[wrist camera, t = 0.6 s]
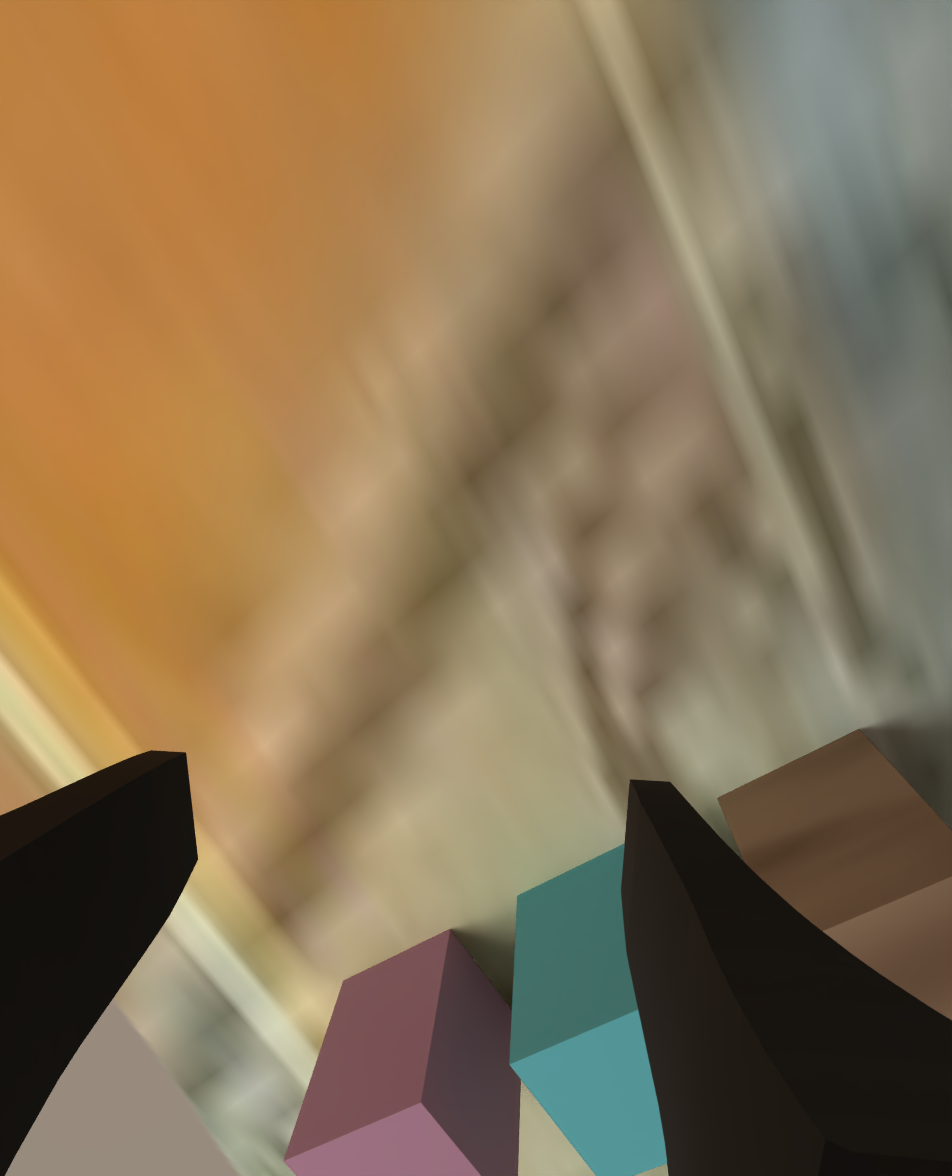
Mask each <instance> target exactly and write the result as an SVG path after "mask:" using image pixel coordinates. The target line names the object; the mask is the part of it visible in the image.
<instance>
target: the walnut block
mask: <svg viewBox="0 0 952 1176" xmlns="http://www.w3.org/2000/svg"><path fill="white" fill-rule="evenodd" d="M717 799H718V801H719V804H720V806H721V808H722V811H723V813H724V816H725V818H726V820H727V823H728V825H729V828H730V830H731V832H732V835H733V837H734V839H735V842H736V844H737V847H738V849H739V851H740V854H741V856H742V858H743V861H744V862H745V863H746V864H747V865H748V866H749V867H750V868H751V869H752V870H753V871H754V872H755V873H756V874H757V875H758V876H759V877H760V878H761V879H762V880H763V881H765V882H766V883H767V884H768V885H769V886H770V887H771V888H772V889H773V890H774V891H776V892H777V893H778V894H779V895H780V896H781V897H782V898H783V899H784V900H786V901H787V902H788V903H789V904H790V905H791V906H792V907H793V908H795V909H796V910H797V911H798V912H799V913H801V914H802V915H803V916H804V917H805V918H807V919H808V920H809V921H810V922H811V923H813V924H814V925H815V926H817V927H818V928H819V929H820V930H822V931H823V932H824V933H826V934H827V935H828V936H829V937H831V938H832V939H833V940H835V941H836V942H837V943H838V944H840V945H841V946H842V947H844V948H845V949H846V950H848V951H849V952H850V953H851V954H853V955H854V956H855V957H857V958H858V959H860V960H861V961H863V962H864V963H865V964H867V965H868V966H870V967H871V968H872V969H874V970H875V971H877V972H878V973H879V974H881V975H882V976H884V977H885V978H887V979H888V980H890V981H891V982H893V983H895V984H896V985H898V986H899V987H901V988H902V989H904V990H905V991H907V992H908V993H910V994H911V995H913V996H914V997H916V998H917V999H919V1000H920V1001H922V1002H923V1003H925V1004H926V1005H928V1006H929V1007H931V1008H933V1009H934V1010H936V1011H937V1012H939V1013H941V1014H942V1015H944V1016H946V1017H947V1018H949V1019H951V1020H952V830H951V829H950V828H949V827H948V826H947V825H946V824H945V823H944V822H943V821H942V819H941V818H940V817H939V816H938V815H937V814H936V813H935V812H934V811H933V810H932V809H931V807H930V806H929V805H928V804H927V803H926V802H925V801H924V800H923V799H922V798H921V796H920V795H919V794H918V793H917V792H916V791H915V790H914V789H913V788H912V787H911V785H910V784H909V783H908V782H907V781H906V780H905V779H904V778H903V777H902V776H901V775H900V773H899V772H898V771H897V770H896V769H895V768H894V767H893V766H892V765H891V764H890V762H889V761H888V760H887V759H886V758H885V757H884V756H883V755H882V754H881V753H880V752H879V750H878V749H877V748H876V747H875V746H874V745H873V744H872V743H871V742H870V741H869V739H868V738H867V737H866V736H865V735H864V734H863V733H862V732H861V731H860V730H859V729H858V730H856V731H854V732H852V733H850V734H848V735H846V736H844V737H842V738H840V739H837V740H835V741H833V742H831V743H829V744H827V745H825V746H823V747H821V748H819V749H817V750H815V751H813V752H811V753H809V754H807V755H805V756H803V757H801V758H798V759H796V760H794V761H792V762H790V763H788V764H786V765H784V766H782V767H780V768H778V769H776V770H774V771H772V772H770V773H768V774H766V775H764V776H762V777H759V778H757V779H755V780H753V781H751V782H749V783H747V784H745V785H743V786H741V787H739V788H737V789H735V790H733V791H731V792H729V793H727V794H725V795H723V796H720V797H718V798H717Z"/></svg>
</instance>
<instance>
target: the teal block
mask: <svg viewBox="0 0 952 1176" xmlns="http://www.w3.org/2000/svg"><path fill="white" fill-rule="evenodd" d="M624 846H625V844H623V845H621V846H619V847H617V848H615V849H612V850H610V851H608V852H606V853H604V854H602V855H600V856H598V857H596V858H594V859H592V860H590V861H588V862H586V863H584V864H582V865H580V866H578V867H576V868H573V869H571V870H569V871H567V872H565V873H563V874H561V875H559V876H557V877H555V878H553V879H551V880H549V881H547V882H545V883H543V884H541V885H539V886H537V887H534V888H532V889H530V890H528V891H526V892H524V893H522V894H520V895H518V896H517V912H516V933H515V955H514V976H513V998H512V1019H511V1040H510V1062H509V1065H510V1066H511V1067H512V1069H513V1070H514V1071H515V1072H516V1074H517V1075H518V1076H519V1078H520V1079H521V1080H522V1081H523V1083H524V1084H525V1085H526V1087H527V1088H528V1089H529V1090H530V1092H531V1093H532V1094H533V1096H534V1097H535V1098H536V1099H537V1101H538V1102H539V1103H540V1105H541V1106H542V1107H543V1108H544V1110H545V1111H546V1112H547V1114H548V1115H549V1116H550V1117H551V1119H552V1120H553V1121H554V1123H555V1124H556V1125H557V1126H558V1128H559V1129H560V1130H561V1131H562V1133H563V1134H564V1135H565V1137H566V1138H567V1139H568V1140H569V1142H570V1143H571V1144H572V1146H573V1147H574V1148H575V1149H576V1151H577V1152H578V1153H579V1155H580V1156H581V1157H582V1158H583V1160H584V1161H585V1162H586V1164H587V1165H588V1166H589V1167H590V1169H591V1170H592V1171H593V1173H594V1174H595V1175H596V1176H634V1175H637V1174H639V1173H642V1172H645V1171H647V1170H650V1169H653V1168H656V1167H658V1166H661V1165H664V1164H666V1163H667V1157H666V1149H665V1141H664V1135H663V1130H662V1124H661V1118H660V1112H659V1106H658V1101H657V1097H656V1092H655V1087H654V1082H653V1078H652V1073H651V1068H650V1063H649V1059H648V1054H647V1049H646V1045H645V1040H644V1035H643V1030H642V1026H641V1021H640V1016H639V1011H638V1007H637V1002H636V997H635V992H634V987H633V983H632V978H631V973H630V968H629V963H628V958H627V953H626V943H625V933H624V922H623V911H622V899H621V882H622V870H623V858H624Z"/></svg>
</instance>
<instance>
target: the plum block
mask: <svg viewBox="0 0 952 1176" xmlns="http://www.w3.org/2000/svg"><path fill="white" fill-rule="evenodd" d="M511 1019H512V1010H511V1008H510V1007H509V1006H508V1004H507V1003H506V1002H505V1000H504V999H503V998H502V996H501V995H500V994H499V993H498V991H497V990H496V989H495V987H494V986H493V985H492V983H491V982H490V981H489V979H488V978H487V977H486V976H485V974H484V973H483V972H482V970H481V969H480V968H479V966H478V965H477V964H476V962H475V961H474V960H473V958H472V957H471V956H470V955H469V953H468V952H467V951H466V949H465V948H464V947H463V945H462V944H461V943H460V941H459V940H458V939H457V938H456V936H455V935H454V934H453V932H452V931H451V930H450V929H449V930H447V931H445V932H443V933H441V934H439V935H437V936H435V937H432V938H430V939H428V940H426V941H424V942H422V943H420V944H418V945H416V946H414V947H412V948H410V949H408V950H406V951H404V952H402V953H400V954H398V955H396V956H393V957H391V958H389V959H387V960H385V961H383V962H381V963H379V964H377V965H375V966H373V967H371V968H369V969H367V970H365V971H363V972H361V973H359V974H357V975H354V976H352V977H350V978H348V979H346V980H344V981H343V984H342V987H341V990H340V993H339V996H338V999H337V1002H336V1005H335V1008H334V1011H333V1014H332V1017H331V1020H330V1023H329V1026H328V1029H327V1032H326V1035H325V1038H324V1041H323V1044H322V1047H321V1050H320V1053H319V1056H318V1059H317V1062H316V1065H315V1068H314V1071H313V1074H312V1077H311V1080H310V1083H309V1086H308V1089H307V1092H306V1095H305V1098H304V1101H303V1104H302V1107H301V1110H300V1113H299V1116H298V1119H297V1122H296V1125H295V1128H294V1131H293V1134H292V1137H291V1140H290V1143H289V1146H288V1149H287V1152H286V1155H285V1158H284V1162H285V1163H286V1164H287V1166H288V1167H289V1168H290V1169H291V1170H292V1171H293V1172H294V1173H295V1174H296V1176H518V1154H519V1121H520V1088H521V1079H520V1078H519V1076H518V1075H517V1074H516V1072H515V1071H514V1070H513V1069H512V1067H511V1066H510V1065H509V1062H510V1040H511Z"/></svg>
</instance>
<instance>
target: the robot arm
mask: <svg viewBox="0 0 952 1176" xmlns="http://www.w3.org/2000/svg"><path fill="white" fill-rule="evenodd" d="M197 860H198V855H197V846H196V837H195V828H194V819H193V810H192V801H191V793H190V784H189V775H188V766H187V757H186V753H185V752H168V751H152V750H151V751H148V752H145V753H142V754H139V755H136V756H133V757H131V758H128V759H126V760H123V761H121V762H119V763H116V764H114V765H112V766H109V767H107V768H105V769H103V770H100V771H98V772H96V773H94V774H92V775H89V776H87V777H85V778H83V779H81V780H78V781H76V782H74V783H72V784H70V785H68V786H65V787H63V788H61V789H59V790H57V791H54V792H52V793H50V794H48V795H46V796H44V797H41V798H39V799H37V800H35V801H33V802H31V803H28V804H26V805H24V806H22V807H19V808H17V809H15V810H12V811H10V812H8V813H5V814H3V815H1V816H0V1176H5V1174H6V1172H7V1170H8V1168H9V1166H10V1164H11V1163H12V1161H13V1159H14V1157H15V1155H16V1153H17V1151H18V1150H19V1148H20V1146H21V1144H22V1143H23V1141H24V1139H25V1137H26V1136H27V1134H28V1132H29V1130H30V1129H31V1127H32V1125H33V1123H34V1122H35V1120H36V1118H37V1116H38V1115H39V1113H40V1111H41V1109H42V1107H43V1106H44V1104H45V1102H46V1100H47V1099H48V1097H49V1095H50V1093H51V1092H52V1090H53V1088H54V1086H55V1085H56V1083H57V1081H58V1079H59V1078H60V1076H61V1075H62V1073H63V1072H64V1070H65V1068H66V1067H67V1065H68V1064H69V1062H70V1061H71V1059H72V1058H73V1056H74V1054H75V1053H76V1051H77V1050H78V1048H79V1047H80V1045H81V1044H82V1042H83V1041H84V1039H85V1038H86V1036H87V1035H88V1034H89V1032H90V1031H91V1029H92V1028H93V1026H94V1025H95V1024H96V1022H97V1021H98V1019H99V1018H100V1016H101V1015H102V1013H103V1012H104V1010H105V1009H106V1008H107V1006H108V1005H109V1003H110V1002H111V1001H112V999H113V998H114V996H115V995H116V993H117V992H118V990H119V989H120V988H121V986H122V985H123V983H124V982H125V980H126V979H127V978H128V976H129V975H130V973H131V972H132V970H133V969H134V967H135V966H136V965H137V963H138V962H139V960H140V959H141V957H142V956H143V954H144V953H145V951H146V950H147V948H148V947H149V946H150V944H151V943H152V941H153V940H154V938H155V937H156V935H157V934H158V932H159V931H160V929H161V928H162V926H163V925H164V923H165V922H166V920H167V919H168V917H169V916H170V914H171V912H172V910H173V908H174V906H175V904H176V902H177V901H178V899H179V897H180V895H181V893H182V891H183V889H184V887H185V885H186V883H187V881H188V879H189V877H190V875H191V873H192V871H193V869H194V867H195V865H196V863H197ZM621 899H622V911H623V922H624V933H625V943H626V953H627V958H628V963H629V968H630V973H631V978H632V983H633V987H634V992H635V997H636V1002H637V1007H638V1011H639V1016H640V1021H641V1026H642V1030H643V1035H644V1040H645V1045H646V1049H647V1054H648V1059H649V1063H650V1068H651V1073H652V1078H653V1082H654V1087H655V1092H656V1097H657V1101H658V1106H659V1112H660V1118H661V1124H662V1130H663V1135H664V1141H665V1149H666V1157H667V1166H668V1174H669V1176H952V1020H951V1019H949V1018H947V1017H946V1016H944V1015H942V1014H941V1013H939V1012H937V1011H936V1010H934V1009H933V1008H931V1007H929V1006H928V1005H926V1004H925V1003H923V1002H922V1001H920V1000H919V999H917V998H916V997H914V996H913V995H911V994H910V993H908V992H907V991H905V990H904V989H902V988H901V987H899V986H898V985H896V984H895V983H893V982H891V981H890V980H888V979H887V978H885V977H884V976H882V975H881V974H879V973H878V972H877V971H875V970H874V969H872V968H871V967H870V966H868V965H867V964H865V963H864V962H863V961H861V960H860V959H858V958H857V957H855V956H854V955H853V954H851V953H850V952H849V951H848V950H846V949H845V948H844V947H842V946H841V945H840V944H838V943H837V942H836V941H835V940H833V939H832V938H831V937H829V936H828V935H827V934H826V933H824V932H823V931H822V930H820V929H819V928H818V927H817V926H815V925H814V924H813V923H811V922H810V921H809V920H808V919H807V918H805V917H804V916H803V915H802V914H801V913H799V912H798V911H797V910H796V909H795V908H793V907H792V906H791V905H790V904H789V903H788V902H787V901H786V900H784V899H783V898H782V897H781V896H780V895H779V894H778V893H777V892H776V891H774V890H773V889H772V888H771V887H770V886H769V885H768V884H767V883H766V882H765V881H763V880H762V879H761V878H760V877H759V876H758V875H757V874H756V873H755V872H754V871H753V870H752V869H751V868H750V867H749V866H748V865H747V864H746V863H745V862H744V861H743V860H742V859H741V858H740V857H739V856H738V855H737V854H736V853H735V852H734V851H733V850H732V849H731V848H730V847H729V846H728V845H727V844H726V843H725V842H724V841H723V840H722V839H721V838H720V837H719V836H718V835H717V834H716V832H715V831H714V830H713V829H712V828H711V827H710V826H709V825H708V824H707V823H706V821H705V820H704V819H703V818H702V817H701V816H700V815H699V814H698V813H697V811H696V810H695V809H694V808H693V807H692V806H691V805H690V804H689V802H688V801H687V800H686V799H685V798H684V797H683V796H682V795H681V794H680V792H679V791H678V790H677V789H676V788H675V787H674V786H673V785H672V784H671V782H664V781H647V780H631V779H630V785H629V797H628V809H627V821H626V834H625V846H624V858H623V870H622V882H621Z"/></svg>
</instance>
